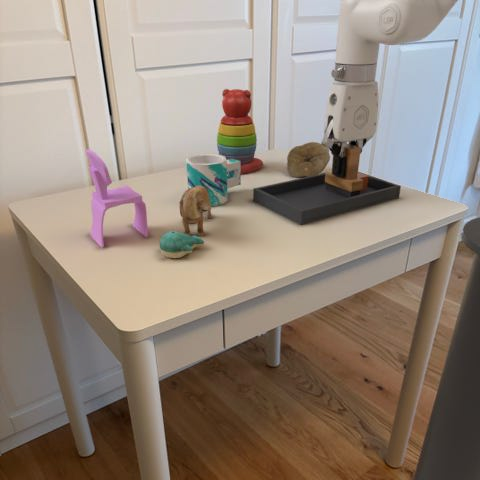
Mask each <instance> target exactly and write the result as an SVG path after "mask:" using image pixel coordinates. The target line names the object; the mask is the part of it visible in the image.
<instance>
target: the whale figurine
mask: <svg viewBox="0 0 480 480" xmlns="http://www.w3.org/2000/svg"><path fill="white" fill-rule="evenodd" d="M183 233H184V232H178V231H175V230H174V231H173V230H170V231H167V232H166V233H164V234H163V235H162V236H161V237H160V240H159V244H158V245H159V252H160V254H162V255H163V256H165V257H167V258H169V259H179V258H182V257H184V256H186V255H188V254H191V253H192V252H193V249H195V248H196V247H202V246H203V245H205V240H204V239H203V238H201V237H199V236H197V235H196V234H194V235H191V234H190V235H187V234H183Z"/></svg>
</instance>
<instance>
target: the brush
mask: <svg viewBox="0 0 480 480" xmlns="http://www.w3.org/2000/svg"><path fill="white" fill-rule="evenodd" d="M338 146H339V147H340V143H338ZM360 150H361V147H357V146H354V145H350V144H349V143H347V144H346V151H345V156H344V157H347V161H346V171H345V177H343V178H341V177H338V176H336V175H333V174H332V170H330V171H327V172H324V173H325V182H326V189H327V190H329V191H332V192H334V193H337V194H339V195H342V196H344V197H347V198H349V197H353V196H357V195H360V190H362V186H363V180H362V179H360V178H357V175H358V172H359V166H360V164H359V163H360V157H361V154H360ZM333 157H334V155H332V158H333ZM332 168H333V159H332V161H331V169H332Z"/></svg>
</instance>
